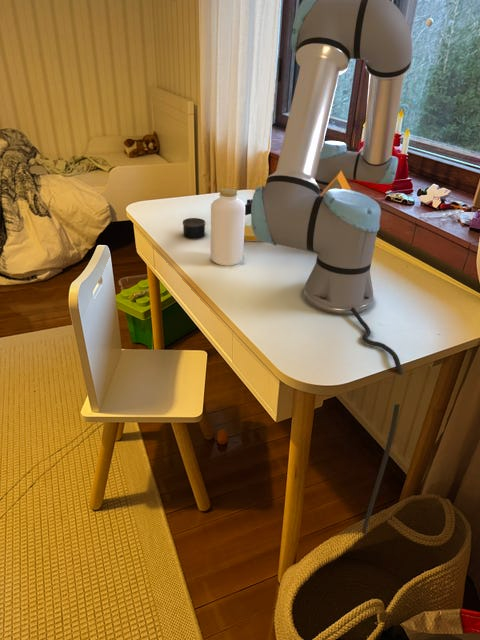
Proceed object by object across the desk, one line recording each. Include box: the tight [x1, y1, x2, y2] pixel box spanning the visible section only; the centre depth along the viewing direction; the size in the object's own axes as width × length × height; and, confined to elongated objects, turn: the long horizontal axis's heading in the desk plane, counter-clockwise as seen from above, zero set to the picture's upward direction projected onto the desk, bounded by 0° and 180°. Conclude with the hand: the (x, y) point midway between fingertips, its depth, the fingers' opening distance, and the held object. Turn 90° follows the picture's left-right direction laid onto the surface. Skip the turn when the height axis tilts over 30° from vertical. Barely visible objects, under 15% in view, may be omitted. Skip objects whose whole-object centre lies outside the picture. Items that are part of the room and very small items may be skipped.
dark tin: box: [182, 217, 206, 240], centre depth 135 cm, size 6×6×4 cm
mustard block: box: [244, 225, 261, 242], centre depth 137 cm, size 8×6×2 cm
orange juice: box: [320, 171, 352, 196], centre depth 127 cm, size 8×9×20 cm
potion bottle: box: [210, 187, 246, 267], centre depth 118 cm, size 8×8×18 cm
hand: (253, 219), depth 124 cm, fingers open, 13 cm apart
